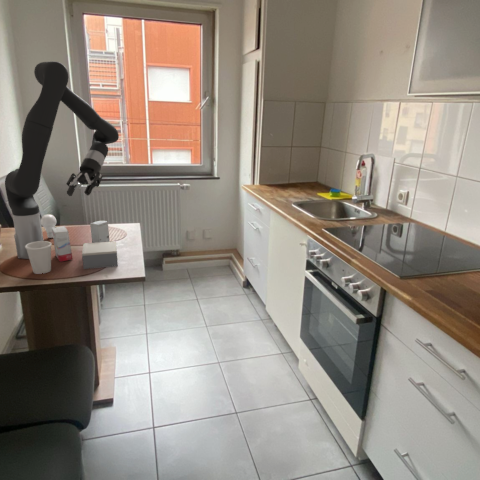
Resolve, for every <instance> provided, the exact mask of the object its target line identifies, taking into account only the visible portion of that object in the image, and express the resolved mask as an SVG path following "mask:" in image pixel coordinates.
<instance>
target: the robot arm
mask: <svg viewBox="0 0 480 480" xmlns="http://www.w3.org/2000/svg"><path fill="white" fill-rule="evenodd" d="M33 73H34V77H35V79H36V80H37V83H39V84H40V85H41V90H40V94H39V96H38V98H37V100H36V101H35V102H34V104H33V106H32V107H31V109H29V111H28V113H27V115H26V118H25V121H24V122H23V123H24V124H23V128H22V131H21V132H22V133H21V147H22V149H21V150H22V155H21V162H20V163H19V164H20V165H19V167H18V169H17V170H12V171H10V172H9V173H7V175H6V176H5V178H4V186H5V187H4V188H5V193H6V198H7V202H8V206H9V208H10V210H11V214H12V220H13V227H14V228H13V229H14V235H13V236H14V237H13V238H14V242H15V248H16V253H17V254H16V255H17V259H24V260H30V259H29V256H28V253H27V249H26V248H25V246H26V245H27V244H29V243H32V242H37V241H45V239H44V236H43V234H44V233H43V228H42V227H43V226H42V224H41V214H40V207H39V205H38V203H37V202H36V199H35V197H34V195H36V193H37V192H38V190H39V189H40V188H39V187H40V182H41V176H42V169H43V164H44V160H45V157H46V154H47V150H48V146H49V143H50V140H51V137H52V134H53V129H54V124H55V121H56V117H57V114H58V110H59V106H60V103H61V102H62V103H63V104H64V105H65V106H66V107H67V108H68V109H69V110H70V111H72V113H74V115H75V116H76V117H77V118H78V119H79V120H80V121H81V122H82V123H83V124H84V125H85V127H86V128H88V129H89V130H91V131H92V130H93V131H94V130H95V131H94V132H93V135H92V141H91V146H90V147H89V150H88V152H87V153H86V154H85V157H84V158H83V161H82V162H81V164H80V166H79V172H78V174H75V173H71V175H70V176H69V178H68V180H67V182H66V184H65V185H66V186H67V187H68V189H67V191H66V194H67V195H68V196H69V197H72V196H73V194H74V192H75V190H76V189H77V188H78V187H82V185H87V186H86V188H85V190H84V194H85V196H90V195H91V194H92V191H93V189H95V187H96V188H98V187H100V184H101V181H102V179H103V175H102V174H101V169H102V168H103V166H104V163H105V160H106V158H107V156H108V153H109V147H108V144H113V143H116V142H118V141H119V139H120V134H119V132H118V130H117V128H116V127H115V126H114V124H113V125H112V123H110V122H109V121H107V120H106V119H104V118H103V117H101V115H99V113H98V112H97V111H96V110H95V109H94V108H93V107H92V105H90V104H89V103H88V102H87V101H86V100H84V99H83V98H82V97H81V96H79V95H78V94H76V93H75V92H74V91H73V90H72V89H70V87H68V82H69V79H70V78H69V72H68V68H67V67H66V66H65V65H64V64H63V63H62V62H59V61H52V60H51V61H42V62H39V63H37V64H36V65H35V66H34V71H33Z"/></svg>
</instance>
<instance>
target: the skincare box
mask: <svg viewBox="0 0 480 480" xmlns="http://www.w3.org/2000/svg"><path fill="white" fill-rule="evenodd" d="M89 226H90V234H91V235H90V236H91V237H90V238H91V243H97V242H111V241H110V232H109V231H110V230H109V229H110V228H109V222H108V221H107V220H100V219H99V220H97V221H94V222H90V225H89Z"/></svg>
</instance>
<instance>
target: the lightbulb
mask: <svg viewBox="0 0 480 480" xmlns="http://www.w3.org/2000/svg"><path fill="white" fill-rule="evenodd" d="M40 219H41V226H42V227H43V228H44V229H45V232H46V236H47V238H48V239H53V232H52V228H53V227H56V225H57V219H56V217H55V216H54V215H53V214H49V213H48V214H47V213H46V214H44V215H42V216H41V217H40Z"/></svg>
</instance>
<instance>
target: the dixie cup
mask: <svg viewBox="0 0 480 480" xmlns="http://www.w3.org/2000/svg"><path fill="white" fill-rule="evenodd" d="M52 245H53V244H52V242H50V241H48V240H44V241H37V242H32V243H29V244H27V245H26V246H25V248H26V249H27V253H28V256H29V259H28V260H29V262H30V265H31V269H32V272H33V274H35V275H36V274H37V275H41V274H42V273H43V274H46V273H49V272H51V271H52ZM43 274H42V275H43Z"/></svg>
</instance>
